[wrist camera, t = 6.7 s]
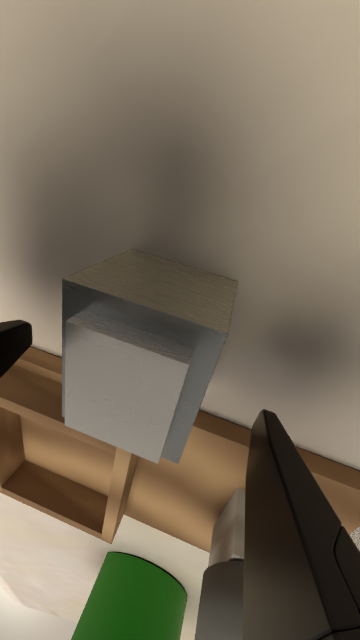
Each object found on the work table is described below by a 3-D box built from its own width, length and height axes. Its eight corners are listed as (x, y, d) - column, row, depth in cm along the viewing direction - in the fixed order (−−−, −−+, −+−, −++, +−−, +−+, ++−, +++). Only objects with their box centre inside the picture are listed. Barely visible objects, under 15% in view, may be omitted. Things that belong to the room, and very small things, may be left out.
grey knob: (291, 569, 17) (308, 735, 12) (200, 529, 18) (177, 668, 12) (342, 524, 14) (396, 722, 9) (229, 478, 15) (216, 634, 9)
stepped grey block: (201, 381, 14) (172, 485, 9) (119, 351, 15) (48, 432, 10) (238, 280, 11) (224, 349, 6) (133, 248, 12) (42, 287, 7)
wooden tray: (284, 565, 19) (291, 657, 15) (22, 450, 22) (-27, 504, 18) (378, 478, 14) (427, 588, 10) (8, 338, 16) (-67, 381, 13)
